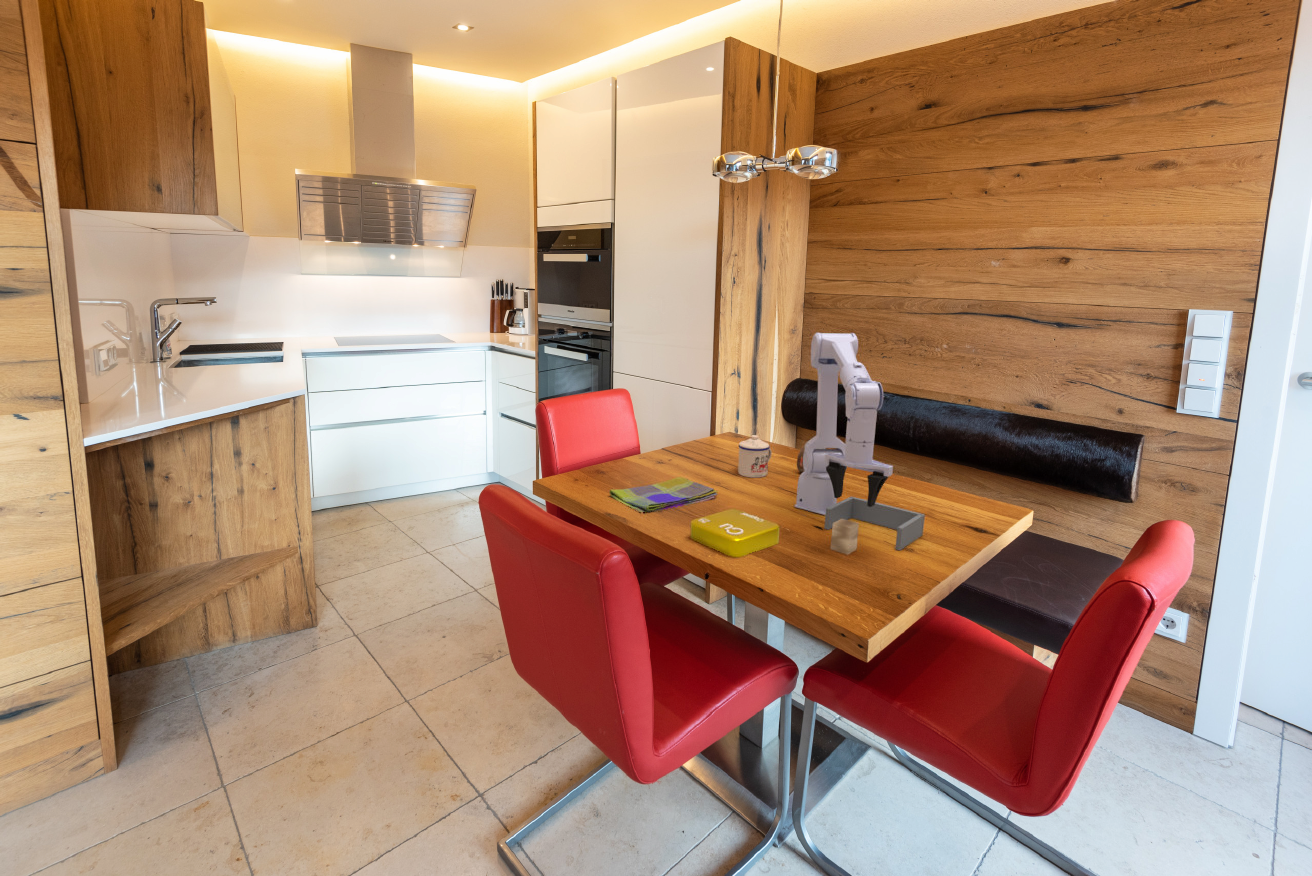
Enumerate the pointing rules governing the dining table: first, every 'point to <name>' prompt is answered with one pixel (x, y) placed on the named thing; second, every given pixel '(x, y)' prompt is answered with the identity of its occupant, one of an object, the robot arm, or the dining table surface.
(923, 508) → the dining table surface
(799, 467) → the tin
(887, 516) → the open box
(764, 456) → the teacup with lid
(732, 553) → the element tile
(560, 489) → the dining table surface
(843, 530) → the birch block
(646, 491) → the dish towel
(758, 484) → the dining table surface
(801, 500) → the robot arm
